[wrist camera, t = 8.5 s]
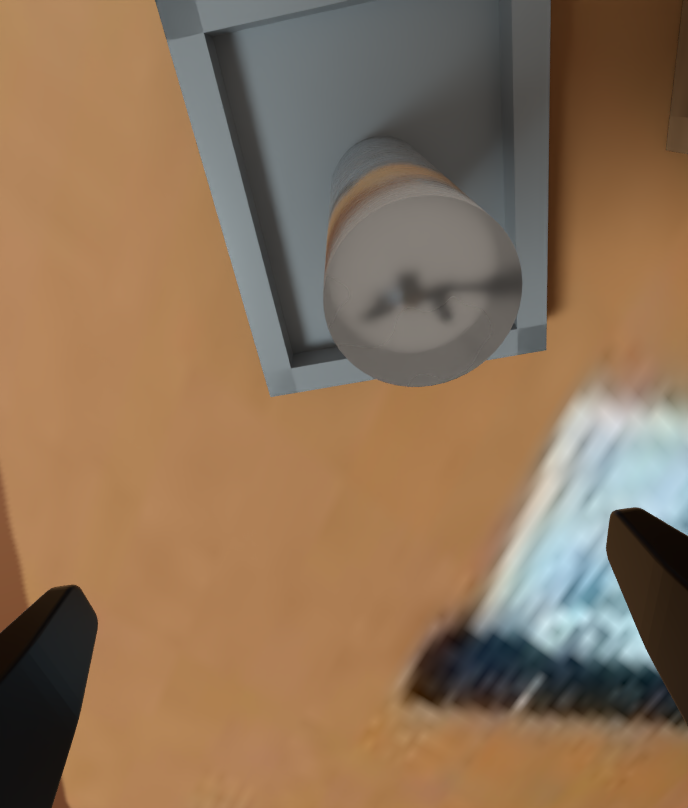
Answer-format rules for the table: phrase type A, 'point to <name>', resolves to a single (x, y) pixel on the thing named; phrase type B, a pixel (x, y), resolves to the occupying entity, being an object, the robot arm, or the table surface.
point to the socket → (680, 92)
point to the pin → (413, 269)
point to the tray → (351, 123)
